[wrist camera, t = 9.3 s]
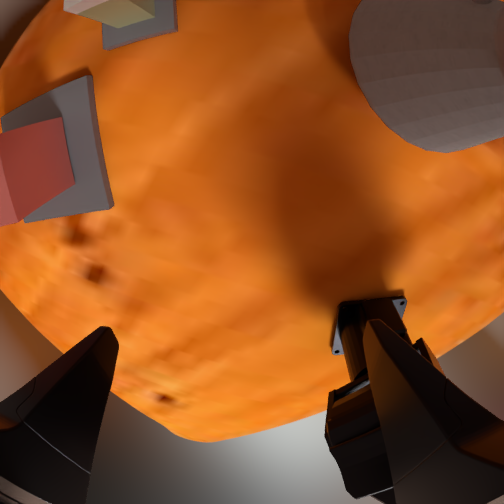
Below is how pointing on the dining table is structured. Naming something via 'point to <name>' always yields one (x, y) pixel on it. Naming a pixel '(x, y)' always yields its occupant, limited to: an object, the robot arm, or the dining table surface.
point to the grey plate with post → (70, 147)
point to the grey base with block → (127, 18)
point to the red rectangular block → (32, 168)
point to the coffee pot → (432, 69)
